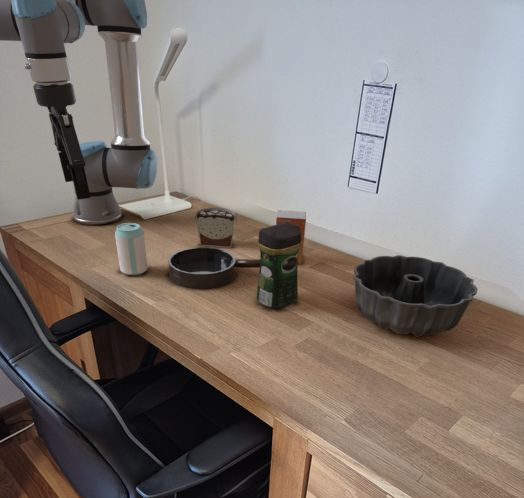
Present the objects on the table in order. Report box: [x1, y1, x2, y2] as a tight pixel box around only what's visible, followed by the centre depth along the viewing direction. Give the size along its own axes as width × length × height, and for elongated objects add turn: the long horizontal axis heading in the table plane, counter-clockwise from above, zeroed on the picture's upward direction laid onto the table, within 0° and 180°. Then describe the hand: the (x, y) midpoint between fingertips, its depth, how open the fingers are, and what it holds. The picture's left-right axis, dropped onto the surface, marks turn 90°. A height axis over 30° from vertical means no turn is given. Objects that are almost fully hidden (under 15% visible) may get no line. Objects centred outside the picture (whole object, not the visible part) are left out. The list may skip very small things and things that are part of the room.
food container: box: [194, 207, 238, 249], centre depth 136 cm, size 12×6×10 cm, turn 84°
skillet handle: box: [235, 258, 260, 269], centre depth 120 cm, size 13×2×2 cm, turn 95°
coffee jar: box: [256, 222, 301, 310], centre depth 104 cm, size 10×8×19 cm
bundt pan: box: [352, 254, 478, 338], centre depth 103 cm, size 26×26×10 cm
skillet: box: [167, 246, 236, 290], centre depth 119 cm, size 17×17×4 cm
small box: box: [275, 209, 307, 265], centre depth 127 cm, size 8×6×13 cm
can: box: [114, 222, 149, 276], centre depth 117 cm, size 7×7×12 cm
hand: (77, 189), depth 104 cm, fingers open, 13 cm apart
